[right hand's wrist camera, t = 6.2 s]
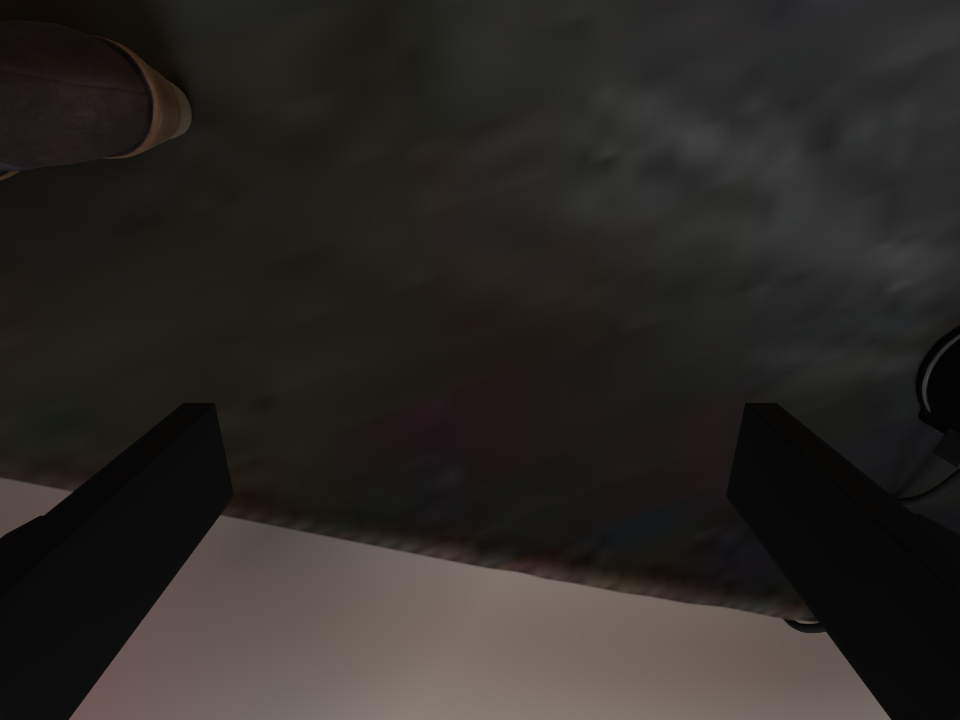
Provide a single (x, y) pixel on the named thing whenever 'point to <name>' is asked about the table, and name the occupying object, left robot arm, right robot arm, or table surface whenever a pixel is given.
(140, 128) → the boot
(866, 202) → the table surface
